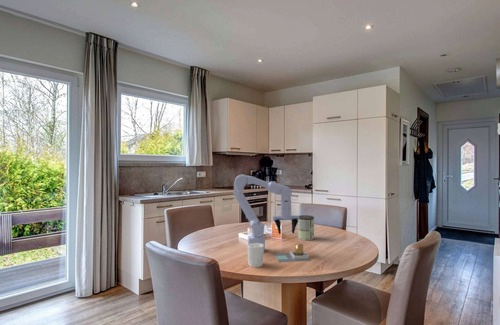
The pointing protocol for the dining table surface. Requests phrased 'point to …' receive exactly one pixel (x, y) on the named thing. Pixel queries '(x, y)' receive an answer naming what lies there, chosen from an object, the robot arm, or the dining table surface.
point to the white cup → (255, 254)
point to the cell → (298, 249)
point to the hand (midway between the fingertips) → (286, 233)
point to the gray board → (291, 257)
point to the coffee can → (306, 227)
